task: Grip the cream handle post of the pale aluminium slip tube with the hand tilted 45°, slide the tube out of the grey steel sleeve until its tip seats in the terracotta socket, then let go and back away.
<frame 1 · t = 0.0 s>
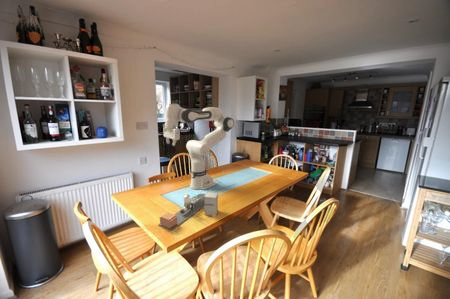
hand: (170, 144, 145), 39 cm above the table, tool pointing down, fingers open, 8 cm apart
steel sleeve: (196, 201, 133), on the charcoal board, point 3 cm above the table
supplement box: (211, 213, 126), on the table
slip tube: (192, 199, 129), point 7 cm above the table, slide at 0.0 cm
charcoal board: (188, 212, 126), on the table
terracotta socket: (168, 220, 112), on the charcoal board, point 3 cm above the table
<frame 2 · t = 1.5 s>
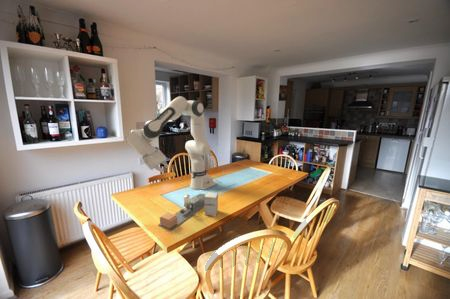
hand: (165, 169, 120), 29 cm above the table, tool tilted 45°, fingers open, 8 cm apart
nothing on the table moved.
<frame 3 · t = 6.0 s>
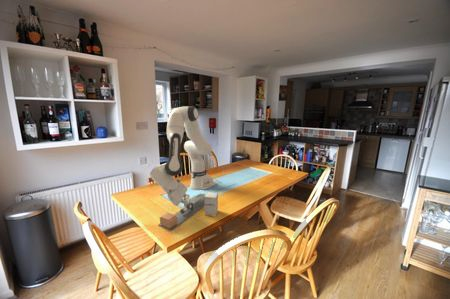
hand: (187, 202, 124), 7 cm above the table, tool tilted 45°, fingers closed on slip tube, 3 cm apart
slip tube: (192, 199, 129), point 7 cm above the table, slide at 0.0 cm, touching gripper
everything else where it was.
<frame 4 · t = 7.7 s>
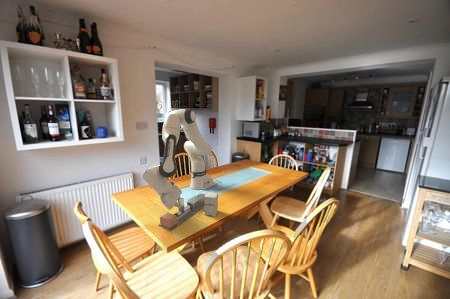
hand: (182, 205, 119), 8 cm above the table, tool tilted 45°, fingers closed on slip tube, 3 cm apart
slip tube: (187, 202, 124), point 7 cm above the table, slide at 5.3 cm, touching gripper
everything else where it was.
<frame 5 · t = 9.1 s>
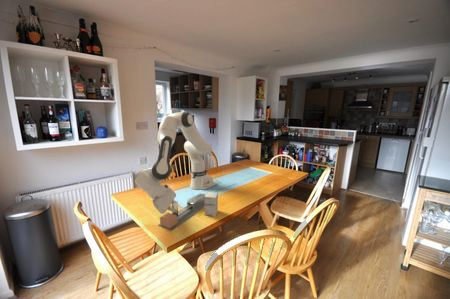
hand: (176, 209, 115), 7 cm above the table, tool tilted 45°, fingers closed on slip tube, 3 cm apart
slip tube: (181, 206, 120), point 7 cm above the table, slide at 10.5 cm, touching gripper
everything else where it was.
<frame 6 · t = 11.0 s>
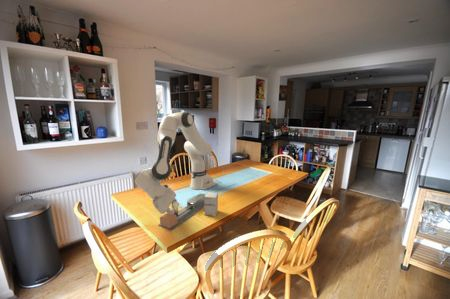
hand: (176, 209, 115), 7 cm above the table, tool tilted 45°, fingers open, 8 cm apart
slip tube: (181, 206, 120), point 7 cm above the table, slide at 10.5 cm
everything else where it was.
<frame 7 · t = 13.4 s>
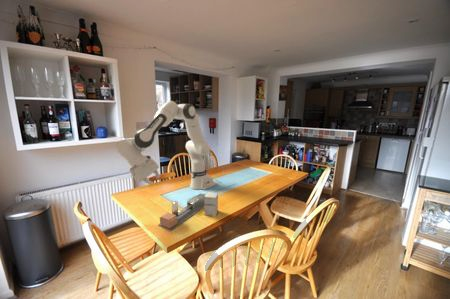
hand: (155, 180, 116), 24 cm above the table, tool tilted 40°, fingers open, 8 cm apart
nothing on the table moved.
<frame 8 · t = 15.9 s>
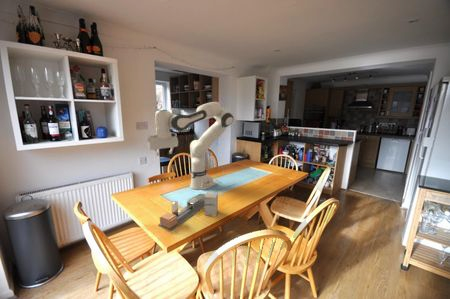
hand: (164, 154, 135), 34 cm above the table, tool pointing down, fingers open, 8 cm apart
nothing on the table moved.
at the end: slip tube slide at 10.5 cm; the gripper is holding nothing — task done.
